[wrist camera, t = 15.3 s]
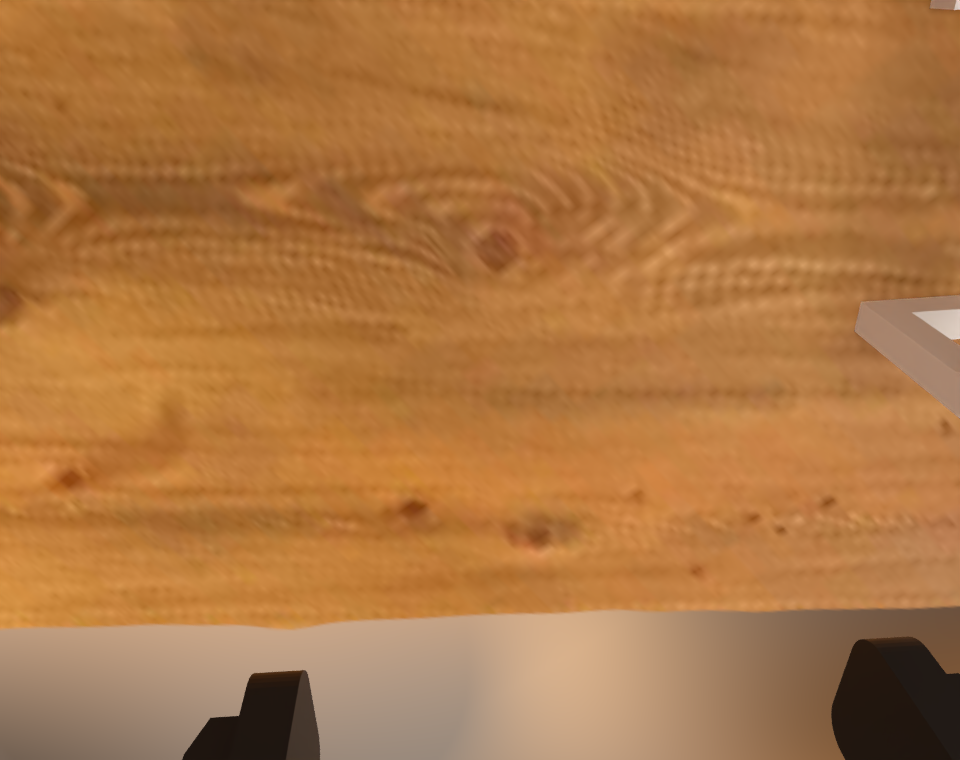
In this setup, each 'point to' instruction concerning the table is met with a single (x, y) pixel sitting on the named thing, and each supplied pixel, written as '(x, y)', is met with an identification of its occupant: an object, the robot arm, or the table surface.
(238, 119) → the table surface
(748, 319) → the table surface
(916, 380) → the bookend
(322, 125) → the table surface
